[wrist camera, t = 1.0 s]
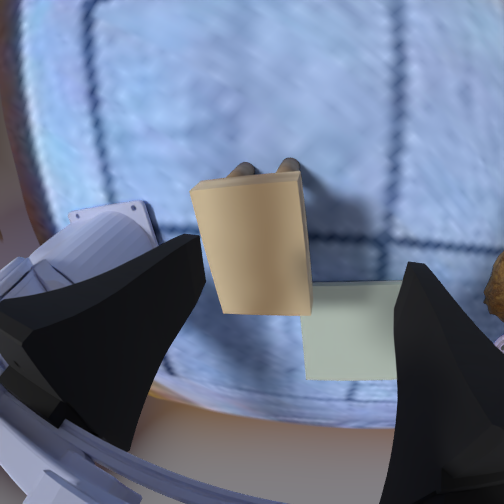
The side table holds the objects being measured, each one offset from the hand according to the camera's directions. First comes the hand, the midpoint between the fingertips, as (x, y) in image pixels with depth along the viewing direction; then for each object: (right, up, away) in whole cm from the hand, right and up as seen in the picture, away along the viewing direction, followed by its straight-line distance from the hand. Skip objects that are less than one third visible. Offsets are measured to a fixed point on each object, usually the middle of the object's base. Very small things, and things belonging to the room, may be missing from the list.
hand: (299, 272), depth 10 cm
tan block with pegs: (0, +3, +11) cm, 12 cm away
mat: (+8, -7, +15) cm, 18 cm away
